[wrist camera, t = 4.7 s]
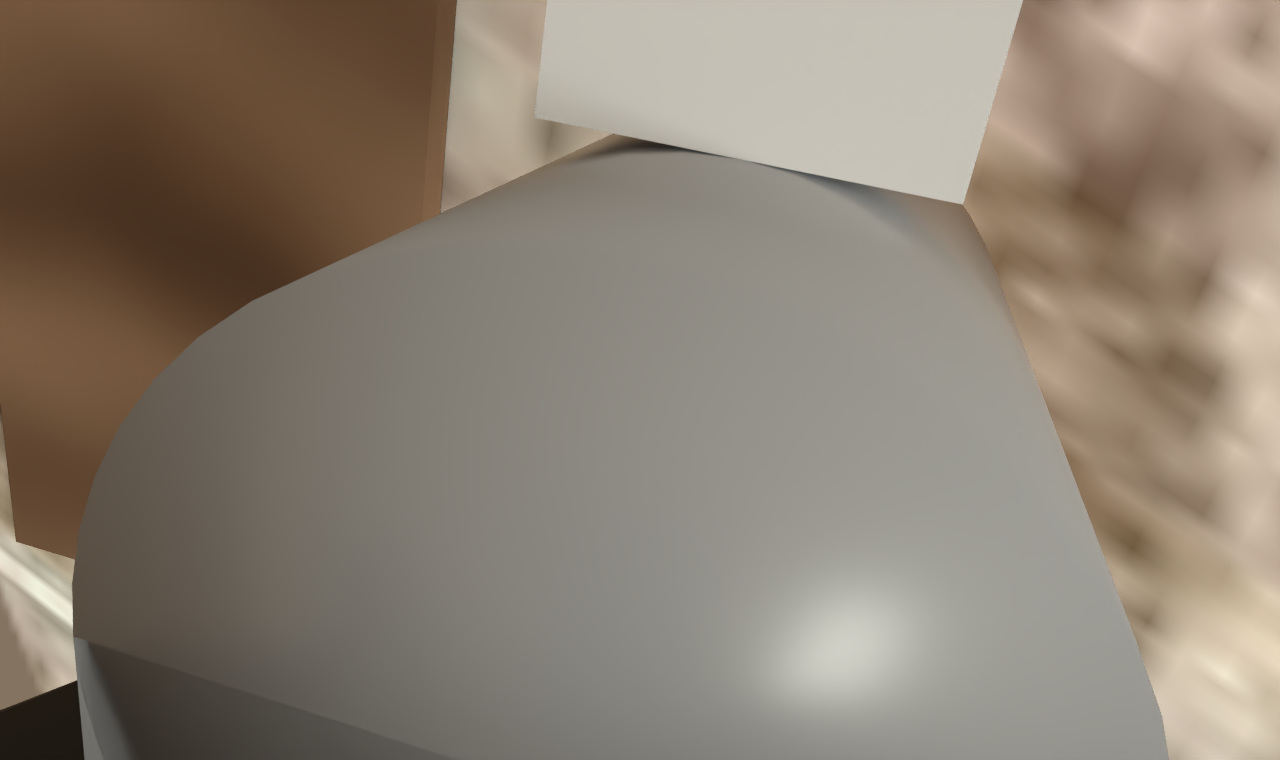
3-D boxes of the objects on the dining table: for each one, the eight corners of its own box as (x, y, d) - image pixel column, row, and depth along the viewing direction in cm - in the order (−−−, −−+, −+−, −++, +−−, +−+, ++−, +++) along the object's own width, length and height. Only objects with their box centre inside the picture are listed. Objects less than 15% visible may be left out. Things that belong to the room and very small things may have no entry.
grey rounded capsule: (798, 986, 10) (725, 1740, 6) (453, 869, 11) (149, 1469, 7) (1207, -239, 6) (2188, -994, 1) (588, -317, 7) (-74, -1010, 2)
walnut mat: (407, 635, 23) (391, 656, 22) (42, 525, 24) (16, 541, 24) (465, -116, 17) (446, -122, 16) (-31, -199, 18) (-69, -207, 17)
